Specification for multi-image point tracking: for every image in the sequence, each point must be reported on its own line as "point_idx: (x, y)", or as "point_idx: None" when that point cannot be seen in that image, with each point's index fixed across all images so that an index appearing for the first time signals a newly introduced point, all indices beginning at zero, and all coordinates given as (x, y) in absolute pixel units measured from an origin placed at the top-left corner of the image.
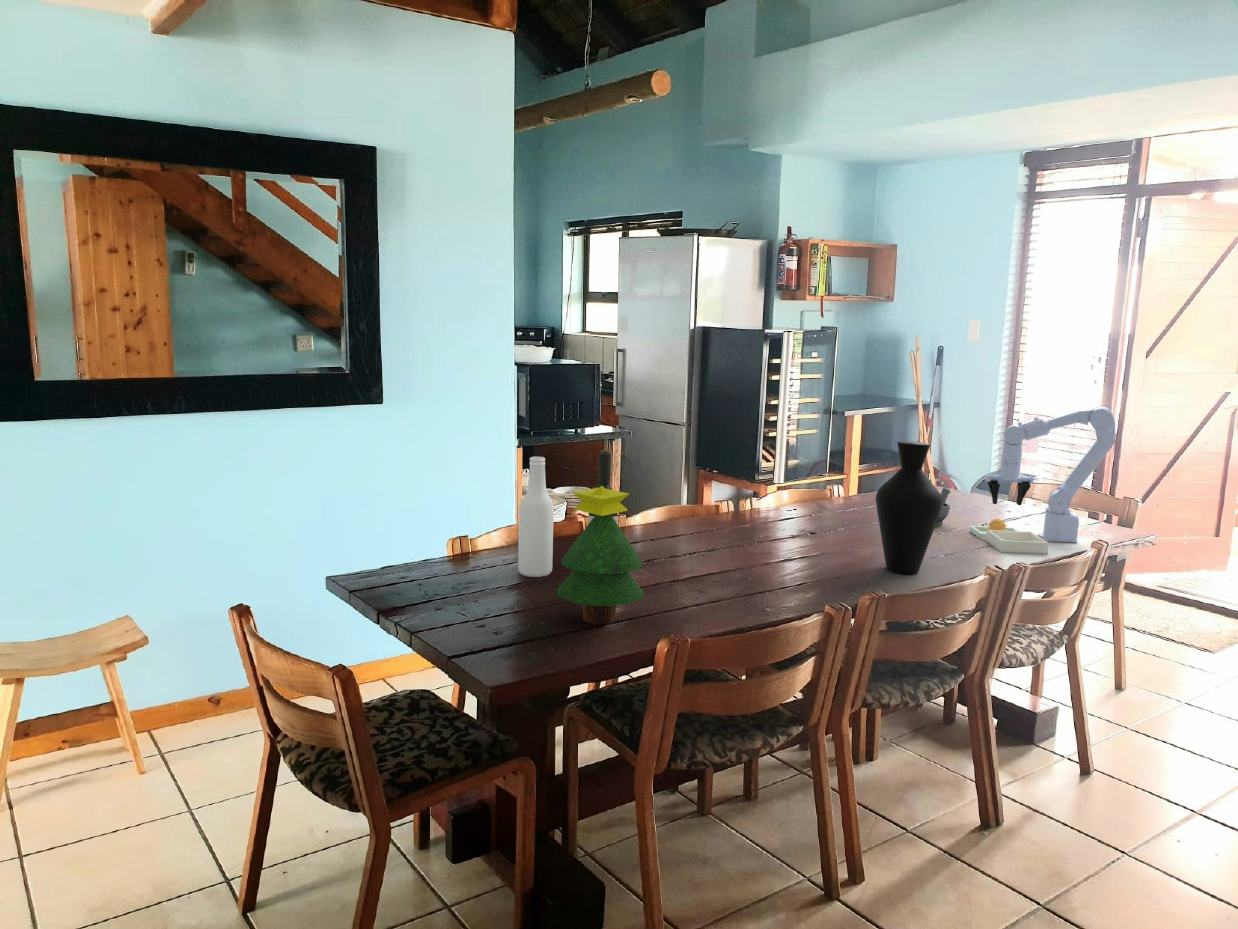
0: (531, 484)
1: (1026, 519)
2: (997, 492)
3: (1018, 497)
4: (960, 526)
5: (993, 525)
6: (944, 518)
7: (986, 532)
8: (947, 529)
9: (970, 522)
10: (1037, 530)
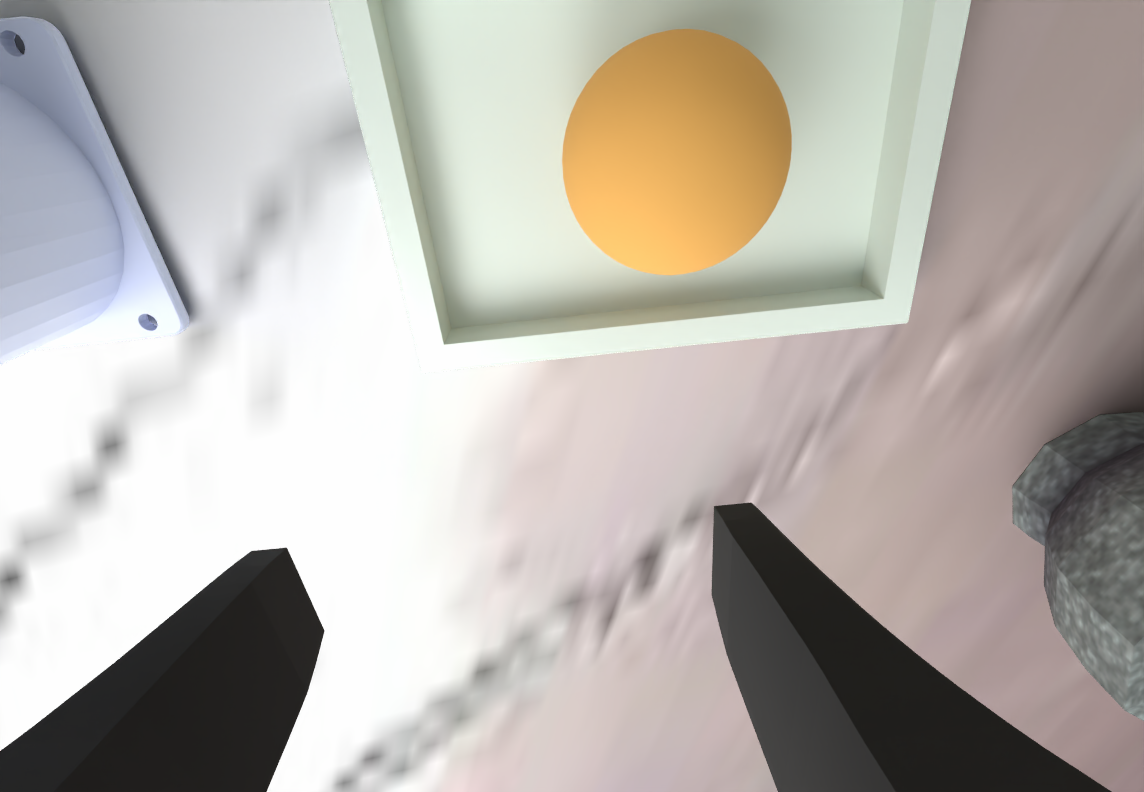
0: None
1: (290, 774)
2: (879, 717)
3: (238, 735)
4: (871, 472)
5: (769, 75)
6: (1108, 473)
7: None
8: (1076, 320)
9: None
10: (207, 522)
